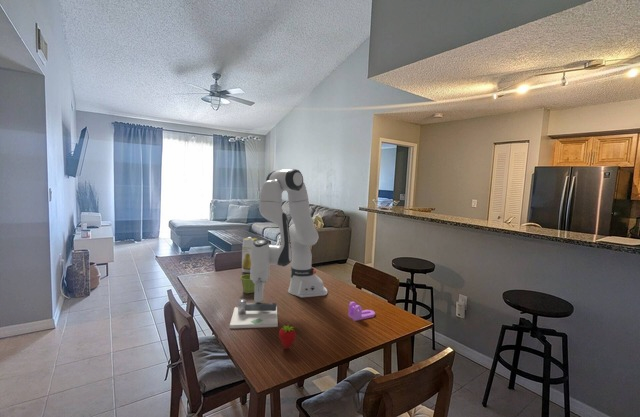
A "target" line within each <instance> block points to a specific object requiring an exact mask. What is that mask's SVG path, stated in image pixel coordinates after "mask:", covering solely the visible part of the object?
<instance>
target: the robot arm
mask: <svg viewBox="0 0 640 417" xmlns="http://www.w3.org/2000/svg"><path fill="white" fill-rule="evenodd" d="M284 192H287V200H288V207H289V215H290V217H291V219H292V222H293V223H292V224H291V225H290V226H289V219H288V216H287V214H286V213H285V212H284V211H283V210H284V209H283V207H282V200H283V199H282V198H283V196H282V195H283V193H284ZM258 209H259V214H260V215H261V216H262V218H264V219H265V220H267V221H269V222H271V223H274V224H275V225H277V227H278V228H279V234H280V244H279V245H278V244H270V242H269V241H267V240H265V239H259V240H258V239H257V240H258V241H255V242H254V243H253V245H252V250H251V268H250V273H249V274H250V279H251V280H252V281H253V283H255V291H254V292H253V293H254V296H253V298H254V299H253V301H254V303H263V300H264V288H265V286H264V285H265V284H266V283H267V281H268V280H270V265H271V266H272V265H274V266H278V267H286V266H288V265H290V263H291V267H290V280H289V281H290V283H289V287H288V289H287V292H288V294H290V295H293V296H297V297H298V298H303V299H304V298H312V297H322V296H327V295H328V289H327V288H326V287H325V286H324V281H323V280H322V278H320V277H319V276H318V275H317V274H316V273H317V270H316V269H315V268H314V267H312V256H313V255H312V251H311V246H314V245H316V244H317V242H318V241H319V238H320V237H319V232H318V230H317V229H316V226H315V223H314V221H313V217H312V213H311V210H310V209H311V208H310V202H309V195H308V190H307V187H306V184H305V182H304V176H303V173H302V172H301V171H300V170H299V169H296V168H291V169H290V168H284V169H279V170H273V171H271V172H269V173H268V175H267V176H266V180H265V181H264V182H263V183H262V186H261V188H260V194H259V202H258Z"/></svg>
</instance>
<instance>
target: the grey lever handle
mask: <svg viewBox="0 0 640 417" xmlns="http://www.w3.org/2000/svg"><path fill="white" fill-rule="evenodd" d="M237 302H238V303H237V307H238V314H245V313H246V311H276V306H277V303H276V302H261V303H257V302H247V299H246V298H245V299H244V298H241V299H238V301H237Z"/></svg>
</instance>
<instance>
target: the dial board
mask: <svg viewBox="0 0 640 417" xmlns="http://www.w3.org/2000/svg"><path fill="white" fill-rule="evenodd" d="M278 320H279V318H278V306H277V305H276V311H246V313H245V314H238V306H235V307H234V308H233V313H232V317H231V319H230V323H229V329H255V328H278V324H279V323H278V322H279V321H278Z"/></svg>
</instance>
